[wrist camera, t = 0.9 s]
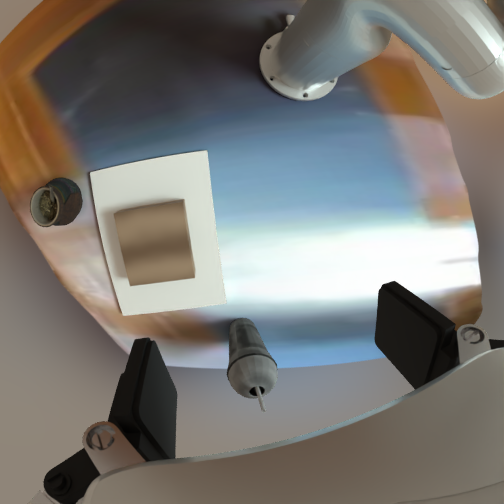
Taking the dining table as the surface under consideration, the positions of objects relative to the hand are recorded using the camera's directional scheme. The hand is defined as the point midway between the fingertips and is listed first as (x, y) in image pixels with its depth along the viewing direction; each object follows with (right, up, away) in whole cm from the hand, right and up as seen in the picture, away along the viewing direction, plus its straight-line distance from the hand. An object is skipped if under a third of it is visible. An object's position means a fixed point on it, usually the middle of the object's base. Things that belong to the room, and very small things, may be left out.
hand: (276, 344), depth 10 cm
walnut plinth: (-15, +5, +29) cm, 33 cm away
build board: (-15, +5, +30) cm, 34 cm away
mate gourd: (-30, +12, +26) cm, 41 cm away
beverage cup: (-3, -10, +38) cm, 39 cm away
